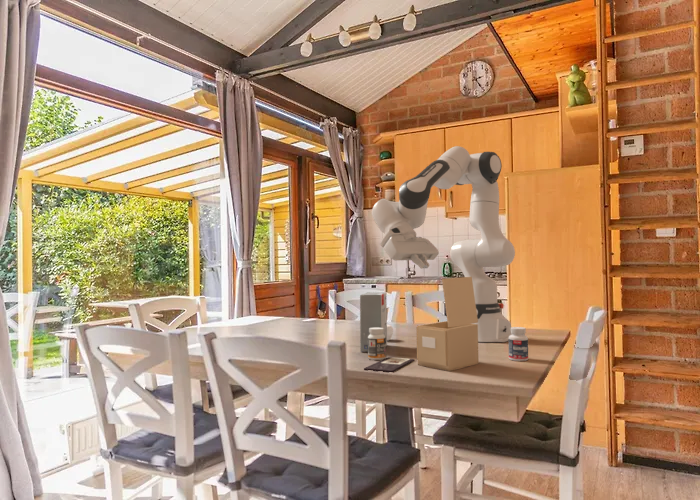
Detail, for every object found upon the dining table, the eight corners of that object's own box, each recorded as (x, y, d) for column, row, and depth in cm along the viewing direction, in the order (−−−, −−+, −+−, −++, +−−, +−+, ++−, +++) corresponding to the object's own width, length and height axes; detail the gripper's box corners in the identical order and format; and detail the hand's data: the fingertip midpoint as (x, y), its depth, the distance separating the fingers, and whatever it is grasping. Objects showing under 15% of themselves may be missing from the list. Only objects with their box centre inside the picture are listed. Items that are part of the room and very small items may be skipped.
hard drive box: (381, 352, 182) (380, 294, 182) (359, 352, 183) (358, 295, 183) (387, 345, 197) (386, 291, 197) (367, 344, 198) (366, 291, 198)
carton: (447, 357, 170) (446, 320, 171) (479, 363, 161) (478, 324, 161) (415, 365, 161) (414, 325, 161) (447, 371, 151) (447, 329, 151)
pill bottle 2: (512, 361, 163) (511, 329, 163) (506, 357, 169) (505, 326, 169) (531, 361, 163) (530, 329, 163) (524, 357, 169) (524, 326, 169)
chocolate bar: (363, 368, 155) (388, 357, 171) (363, 371, 155) (388, 360, 171) (392, 370, 151) (414, 359, 167) (392, 374, 151) (414, 362, 167)
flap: (476, 322, 161) (470, 276, 162) (478, 322, 160) (471, 276, 162) (448, 327, 152) (441, 278, 153) (449, 327, 152) (443, 278, 153)
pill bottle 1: (380, 361, 168) (380, 329, 168) (365, 359, 170) (364, 328, 171) (388, 358, 172) (388, 327, 172) (373, 356, 175) (372, 326, 175)
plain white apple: (373, 341, 205) (373, 321, 205) (378, 338, 212) (377, 318, 212) (391, 342, 203) (391, 321, 203) (395, 339, 210) (394, 319, 210)
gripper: (418, 244, 183) (441, 273, 175) (375, 244, 169) (398, 275, 162) (428, 230, 179) (451, 259, 172) (385, 229, 166) (408, 260, 158)
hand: (425, 267), depth 167 cm, fingers closed
